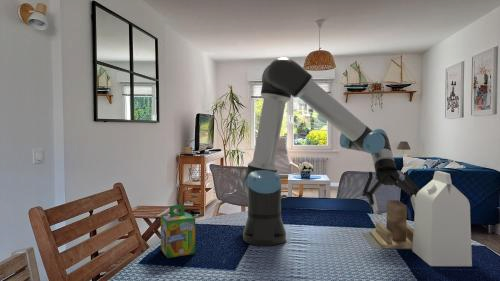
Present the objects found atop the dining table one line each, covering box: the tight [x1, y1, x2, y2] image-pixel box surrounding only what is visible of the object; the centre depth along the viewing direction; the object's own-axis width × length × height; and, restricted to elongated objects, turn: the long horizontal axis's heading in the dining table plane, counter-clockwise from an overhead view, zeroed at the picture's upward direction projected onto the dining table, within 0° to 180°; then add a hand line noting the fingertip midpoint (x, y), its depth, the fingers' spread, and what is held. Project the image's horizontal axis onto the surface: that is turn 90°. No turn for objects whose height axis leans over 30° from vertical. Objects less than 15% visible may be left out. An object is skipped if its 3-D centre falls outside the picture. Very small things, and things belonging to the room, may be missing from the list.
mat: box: [360, 232, 410, 250], centre depth 122 cm, size 20×16×1 cm
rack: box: [369, 221, 414, 250], centre depth 122 cm, size 14×15×4 cm
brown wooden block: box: [385, 199, 408, 242], centre depth 121 cm, size 4×8×12 cm, turn 176°
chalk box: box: [159, 204, 196, 259], centre depth 113 cm, size 9×9×15 cm
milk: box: [411, 170, 473, 267], centre depth 105 cm, size 12×12×26 cm
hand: (396, 212), depth 121 cm, fingers open, 13 cm apart
